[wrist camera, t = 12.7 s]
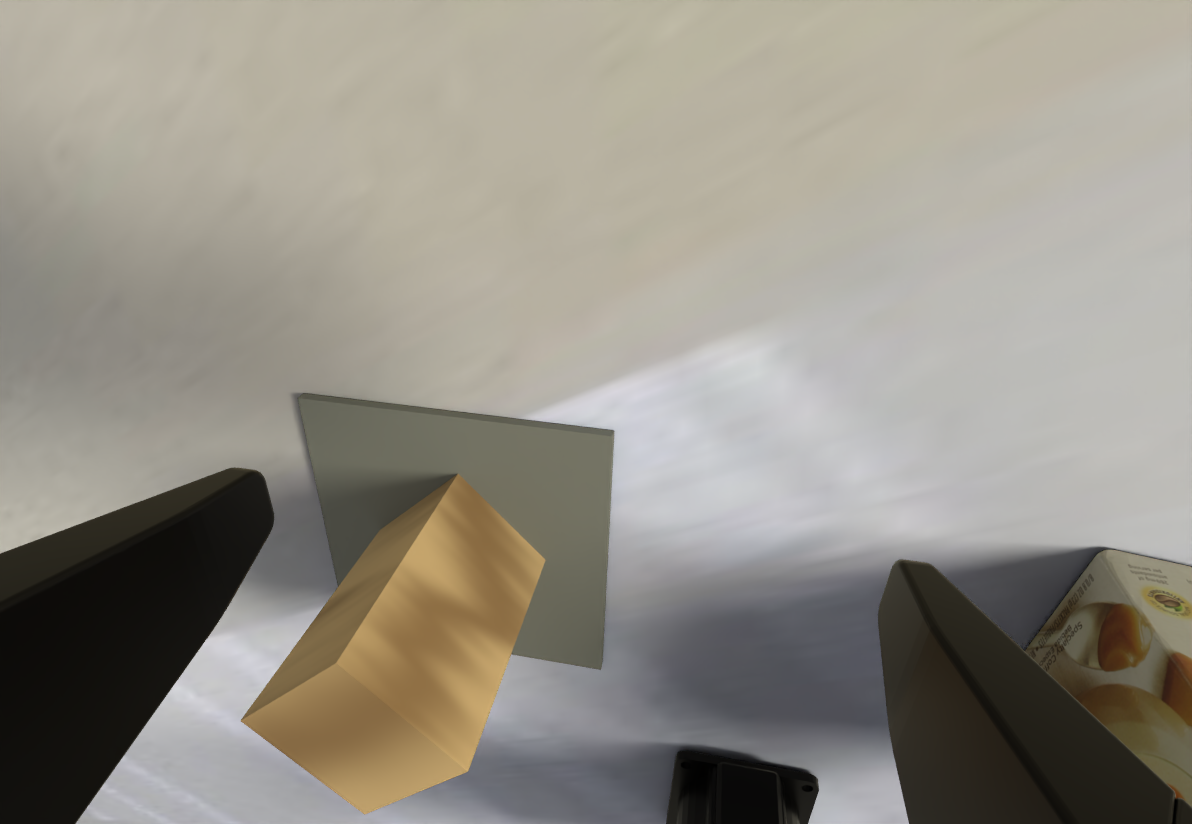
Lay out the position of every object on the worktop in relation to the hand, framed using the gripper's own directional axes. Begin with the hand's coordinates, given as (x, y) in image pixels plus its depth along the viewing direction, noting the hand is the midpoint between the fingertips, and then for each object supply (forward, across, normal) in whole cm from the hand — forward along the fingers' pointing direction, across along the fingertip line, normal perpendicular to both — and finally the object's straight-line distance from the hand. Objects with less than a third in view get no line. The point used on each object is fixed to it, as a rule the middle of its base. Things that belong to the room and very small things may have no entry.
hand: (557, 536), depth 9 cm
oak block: (+13, +7, +12) cm, 19 cm away
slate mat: (+13, +7, +12) cm, 19 cm away
